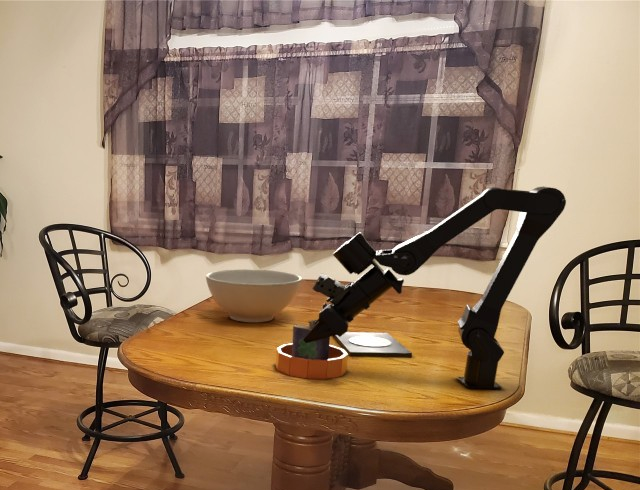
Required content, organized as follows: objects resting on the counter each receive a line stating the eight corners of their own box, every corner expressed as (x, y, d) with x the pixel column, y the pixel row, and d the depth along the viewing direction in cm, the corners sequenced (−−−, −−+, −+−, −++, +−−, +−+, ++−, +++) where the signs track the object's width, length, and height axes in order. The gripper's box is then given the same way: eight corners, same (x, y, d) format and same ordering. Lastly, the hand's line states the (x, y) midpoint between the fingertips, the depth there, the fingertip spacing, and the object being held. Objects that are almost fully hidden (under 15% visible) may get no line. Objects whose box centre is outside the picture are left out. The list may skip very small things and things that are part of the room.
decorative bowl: (234, 304, 217) (236, 266, 213) (314, 316, 200) (317, 275, 197) (186, 319, 197) (187, 277, 193) (270, 333, 181) (273, 287, 177)
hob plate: (411, 357, 158) (412, 352, 158) (349, 356, 159) (350, 351, 159) (387, 336, 177) (387, 332, 177) (332, 335, 178) (332, 331, 178)
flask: (288, 364, 153) (291, 317, 149) (296, 362, 154) (299, 315, 151) (323, 374, 146) (327, 324, 142) (331, 371, 148) (335, 322, 144)
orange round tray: (352, 379, 142) (354, 360, 141) (281, 378, 143) (282, 359, 142) (337, 360, 156) (338, 343, 155) (272, 358, 157) (273, 342, 156)
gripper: (342, 256, 150) (287, 302, 157) (335, 268, 133) (274, 319, 140) (376, 294, 149) (319, 339, 156) (373, 310, 133) (310, 360, 140)
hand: (305, 338), depth 148 cm, fingers closed on flask, 5 cm apart
